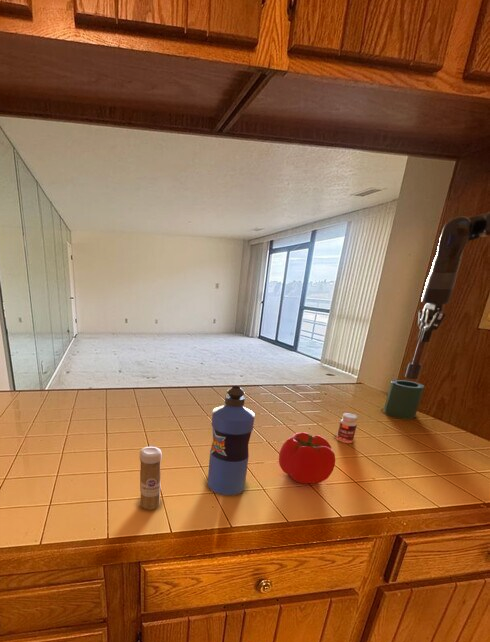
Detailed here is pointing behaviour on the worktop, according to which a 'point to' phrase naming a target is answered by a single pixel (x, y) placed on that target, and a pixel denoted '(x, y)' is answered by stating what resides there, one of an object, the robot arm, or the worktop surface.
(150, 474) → the sprinkles bottle
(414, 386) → the jar
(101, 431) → the worktop surface
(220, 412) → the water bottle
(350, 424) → the pill bottle
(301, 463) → the tomato
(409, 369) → the brush
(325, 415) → the worktop surface
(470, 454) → the worktop surface
